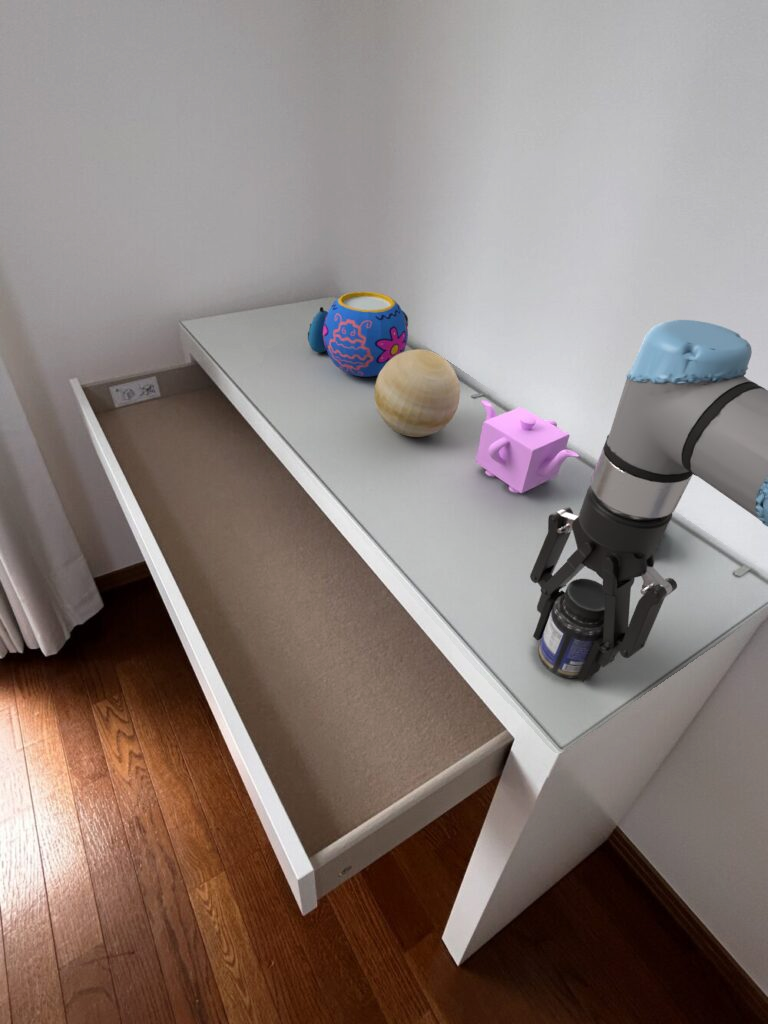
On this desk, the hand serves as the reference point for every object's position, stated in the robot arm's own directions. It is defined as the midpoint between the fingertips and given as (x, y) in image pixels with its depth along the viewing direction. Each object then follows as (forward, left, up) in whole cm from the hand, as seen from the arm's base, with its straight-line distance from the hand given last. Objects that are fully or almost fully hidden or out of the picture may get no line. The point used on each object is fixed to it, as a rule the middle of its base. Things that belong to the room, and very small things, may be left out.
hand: (565, 653), depth 66 cm
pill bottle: (0, 0, -1) cm, 1 cm away
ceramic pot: (+74, -22, -1) cm, 78 cm away
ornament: (+87, -19, -1) cm, 90 cm away
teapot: (+29, -22, -1) cm, 37 cm away
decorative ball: (+49, -16, -1) cm, 52 cm away
